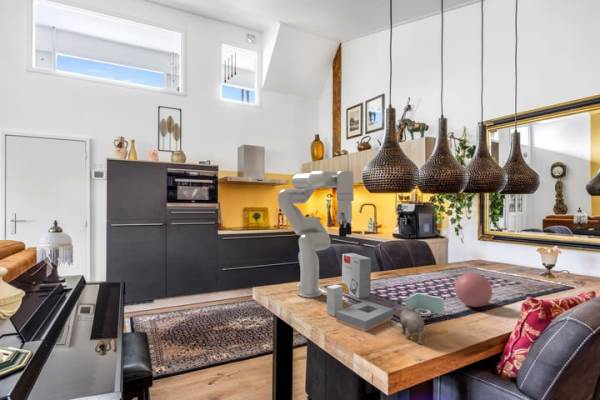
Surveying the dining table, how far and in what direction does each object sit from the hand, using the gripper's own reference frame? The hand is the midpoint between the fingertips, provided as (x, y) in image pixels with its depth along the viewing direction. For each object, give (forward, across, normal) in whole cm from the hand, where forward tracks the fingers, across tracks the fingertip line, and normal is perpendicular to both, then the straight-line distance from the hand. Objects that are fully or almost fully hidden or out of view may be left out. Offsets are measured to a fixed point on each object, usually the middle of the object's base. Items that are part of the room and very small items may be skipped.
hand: (345, 235), depth 150 cm
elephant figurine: (+34, +18, +29) cm, 48 cm away
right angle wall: (+34, -6, +33) cm, 48 cm away
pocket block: (+33, +10, +11) cm, 36 cm away
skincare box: (+33, +9, -3) cm, 35 cm away
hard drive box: (+33, -23, 0) cm, 40 cm away
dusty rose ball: (+34, -28, +53) cm, 69 cm away
